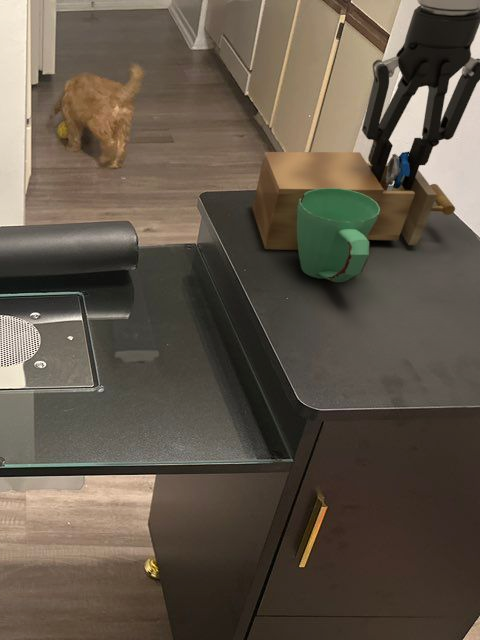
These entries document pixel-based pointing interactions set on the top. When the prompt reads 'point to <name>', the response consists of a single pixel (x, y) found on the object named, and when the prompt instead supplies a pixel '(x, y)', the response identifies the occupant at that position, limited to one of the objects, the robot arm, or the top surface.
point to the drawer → (407, 209)
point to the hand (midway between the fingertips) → (388, 185)
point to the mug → (334, 232)
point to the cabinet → (304, 188)
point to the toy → (397, 169)
